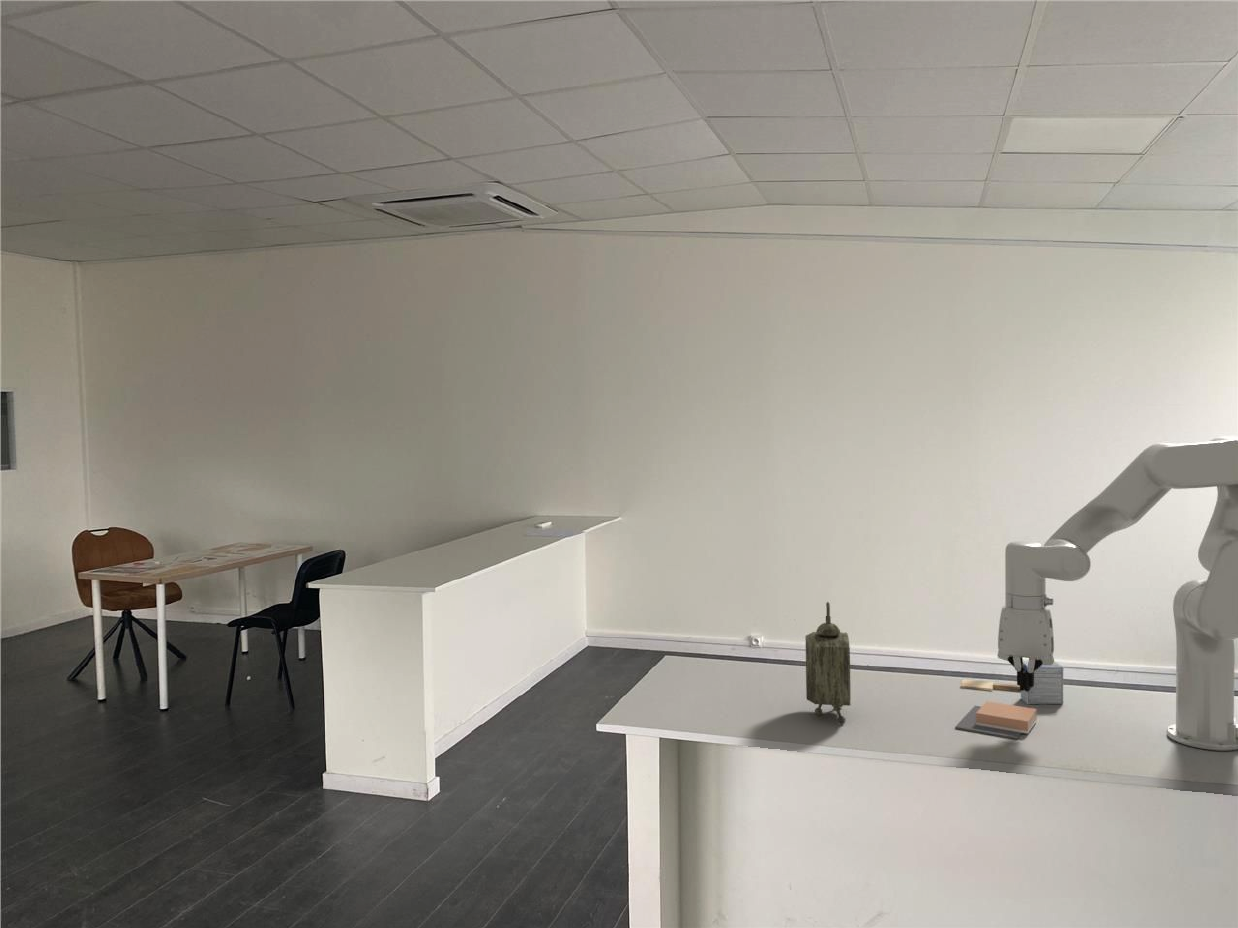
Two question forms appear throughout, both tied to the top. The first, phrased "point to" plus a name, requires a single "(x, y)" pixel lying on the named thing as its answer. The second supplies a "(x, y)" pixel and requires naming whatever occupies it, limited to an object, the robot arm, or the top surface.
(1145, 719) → the top surface
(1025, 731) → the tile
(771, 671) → the top surface
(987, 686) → the beech turner
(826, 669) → the tabletop clock
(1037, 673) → the medicine box
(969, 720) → the mat
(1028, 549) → the robot arm
